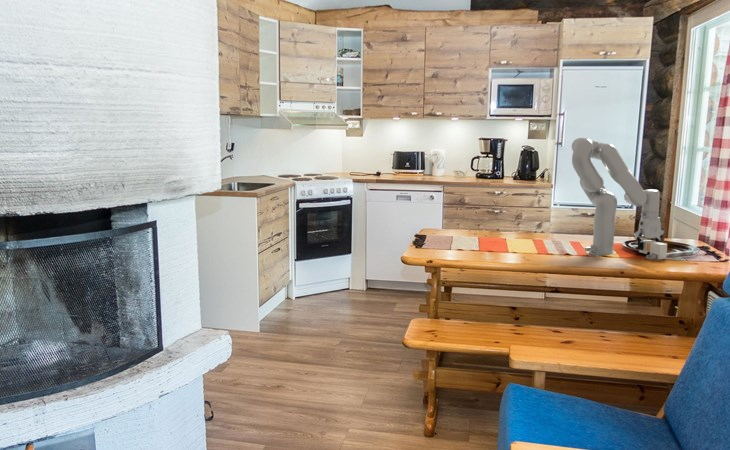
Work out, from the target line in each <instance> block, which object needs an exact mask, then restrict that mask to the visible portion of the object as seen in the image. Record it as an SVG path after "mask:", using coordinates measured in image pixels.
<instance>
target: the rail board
mask: <svg viewBox="0 0 730 450" xmlns="http://www.w3.org/2000/svg"><path fill="white" fill-rule="evenodd" d="M657 257H658V255H657V254H651V255H650V254H645V256H642V258H643V259H647V260H651V261H660V260H663V259H657ZM690 257H691V258H692V257H696V255H694V251H693V250H684V251H674V252H667V255H666V259H665V260H671V259H680V258H681V259H682V258H690Z"/></svg>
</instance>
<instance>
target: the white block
mask: <svg viewBox="0 0 730 450" xmlns="http://www.w3.org/2000/svg"><path fill="white" fill-rule="evenodd" d="M667 253H668V243H665V242H664V243H660V242H651V244H650V252H649V255H651V254H657V255H658V257H657V259H662V260H667V259H666V255H667Z"/></svg>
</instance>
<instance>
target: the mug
mask: <svg viewBox="0 0 730 450" xmlns="http://www.w3.org/2000/svg"><path fill="white" fill-rule="evenodd" d="M665 229H666V228H662V227H661V230H663V231H664V233H663V236H662V238H661V240H660V243H664V244H665V238H666V237H665V236H666V230H665ZM644 240H653V241H654V240H655V239H654V238H649V239H646V238H645V239H644Z"/></svg>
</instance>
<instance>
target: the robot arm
mask: <svg viewBox="0 0 730 450" xmlns="http://www.w3.org/2000/svg"><path fill="white" fill-rule="evenodd" d="M571 150H572V156H571V164H572V166H573V169H574V172H575V173H576V174H577V176H578V178H579V185H580V187H581V189H582V190H583V192H584V193H585V195H586V197H587V198H588V200H589V201H590V202H591V204H592V205H593V206H594V207H595V210H594V215H593V216H594V217H593V235H592V236H593V237H592V244H591V245H590V246H584V248H583V249H584V251H585V252H588V254H590V255H593V256H597V257H605V256H607V255H615V254H617V252H616V251H615V250H614V241H615V227H616V226H615V223H616V211H617V207H618V199H617V197H616V195H615V194H614V193H613V192H611V191H609V190H608V189H607V188H606V187H605V185H604V184H605V183H604V178H603V177H602V176H601V174H600V173H599V171H598V170H597V169H596V167H595V166H594V164H593V162H592V160H591V159H594V160H600V161H601V162H602V164H603V166H604V167H605V169H606V171H607V172H608V174H609V175H610V178H612V180H613V181H615V182H616V183H617V184H618V185H619V187H621V188H622V190H623V191H624V195H623V196H624V197H623V198H624V201H625V202H626V203H628V204H629V205H632V206H635V207H641V213H640V219H639V223H638V230H637V231H636V232H634V233H633V237H634V239H635V240H636V242H637V247H636V248H637V250H643V245H644V242H643V240H647V239H649V238H654V239H655V240H654V241H656V242H660V240H661V238H662V236H663V233H664V231H663V230H661V228H662V223H661V217H660V216H659V214H660V213H659V212H660V196H661V192H660V191H659V190H658V189H652V188H650V189H644V188H643V186H642V185H641V184H640V182H639V181H638V179H637V178H636V177H635V175H634V174H633V173H632V172H631V170H630V169H629V168H628V166H627V164H626V163H625V161H624V159H623V157H622V156H621V154H620V152H618V150H617V148H616V147H615V146H614V145H613V144H611V143H604V142H599V141H595V140H591V139H590V138H587V137H586V138H585V137H578V138H576V139H574V140H573V141H572V143H571ZM645 238H646V239H645Z"/></svg>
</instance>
